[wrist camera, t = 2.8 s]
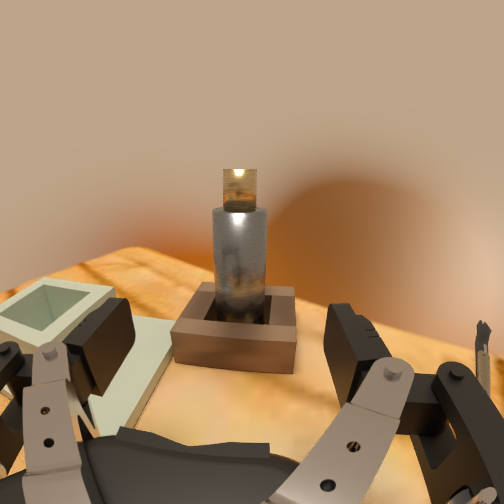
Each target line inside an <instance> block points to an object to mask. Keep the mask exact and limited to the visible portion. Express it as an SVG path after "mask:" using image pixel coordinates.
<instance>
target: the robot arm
mask: <svg viewBox="0 0 504 504" xmlns="http://www.w3.org/2000/svg"><path fill="white" fill-rule="evenodd" d="M135 338H136V333H135V328H134V323H133V319H132V314H131V309H130V304H129V301H128V300H127V299H126V298H113V297H110V298H108V299H107V300H106V301H105V302H104V303H103V304H102V305H101V306H100V307H99V308H97V309H96V310H94V311H92V312H90V313H89V314H88V315H87V316H86V317H85V318H84V319H83V321H81V322H80V323H79V324H78V326H76V327H75V328H74V329H73V330H72V331H71V332H70V333H69V334H68V336H67V337H66V338H65V339H64V340H63V341H62V342H59V341H51V342H47V343H44V344H42V345H41V346H39V347H38V348H37V349H36V350H35V352H34V354H22V352H21V349H20V347H19V345H18V343H16V342H14V341H7V342H4V343H1V344H0V392H1V390H2V389H3V388H4V386H5V385H7V387H8V389H9V390H10V392H11V394H12V395H13V397H14V398H13V399H12V400H11V402H10V403H9V404H8V406H7V407H6V409H5V410H4V412H3V413H2V414H1V416H0V504H359V503H360V502H361V500H362V498H363V497H364V495H365V493H366V492H367V490H368V488H369V486H370V485H371V483H372V481H373V479H374V477H375V475H376V473H377V472H378V470H379V468H380V466H381V464H382V462H383V460H384V458H385V455H386V453H387V451H388V449H389V447H390V445H391V442H392V440H393V438H394V436H395V434H402V435H410V438H411V441H412V443H413V446H414V449H415V452H416V455H417V458H418V461H419V464H420V467H421V470H422V473H423V476H424V480H425V483H426V486H427V489H428V493H429V496H430V500H431V503H432V504H504V419H503V417H502V416H501V414H500V413H499V411H498V409H497V408H496V406H495V405H494V403H493V402H492V400H491V399H490V397H489V396H488V394H487V393H486V391H485V390H484V388H483V387H482V385H481V384H480V383H479V381H478V380H477V378H476V377H475V375H474V374H473V373H472V371H471V370H470V369H469V368H468V367H466V366H465V365H463V364H461V363H458V362H445V363H443V364H441V365H440V366H439V368H438V370H437V372H436V374H419V373H414V370H413V368H412V367H411V365H410V364H408V363H407V362H406V361H404V360H402V359H399V358H394V357H392V355H391V354H390V352H389V350H388V349H387V347H386V345H385V344H384V342H383V341H382V339H381V337H379V334H378V333H377V331H375V328H374V326H373V325H372V323H371V321H369V320H368V319H366V318H365V317H364V316H362V315H356V314H355V313H354V311H353V309H352V308H351V306H350V304H348V303H340V304H330V305H329V307H328V312H327V320H326V327H325V333H324V353H325V356H326V359H327V363H328V366H329V369H330V373H331V376H332V379H333V383H334V386H335V389H336V393H337V396H338V400H339V403H340V407H341V410H340V412H339V413H338V414H337V416H336V417H335V419H334V420H333V422H332V423H331V424H330V426H329V427H328V429H327V430H326V431H325V433H324V434H323V435H322V437H321V438H320V439H319V441H318V442H317V443H316V445H315V446H314V447H313V449H312V450H311V451H310V452H309V454H308V455H307V456H306V457H305V459H304V460H303V461H302V462H301V463H299V462H297V461H295V460H292V459H290V458H287V457H284V456H280V455H277V454H272V453H270V445H269V443H239V442H227V443H219V444H211V445H201V446H186V445H182V444H180V443H177V442H174V441H172V440H169V439H167V438H164V437H162V436H159V435H157V434H154V433H151V432H146V431H141V430H136V429H131V428H127V427H123V426H120V427H119V430H118V432H117V434H116V435H108V436H100V433H99V430H98V427H97V423H96V420H95V417H94V413H93V409H92V406H91V402H90V400H89V398H88V397H89V396H90V394H93V395H97V396H101V397H103V395H104V393H105V392H106V390H107V388H108V387H109V385H110V383H111V381H112V380H113V378H114V376H115V375H116V373H117V371H118V370H119V368H120V367H121V365H122V363H123V362H124V360H125V358H126V357H127V355H128V353H129V352H130V350H131V349H132V347H133V345H134V343H135ZM449 423H450V424H451V426H452V428H453V430H454V432H455V434H456V439H455V437H454V435H453V432H452V430H451V428H450V426H449ZM23 445H24V450H25V460H26V469H24V470H22V471H20V472H17V473H15V474H12V475H10V476H7V475H8V473H9V471H10V469H11V467H12V465H13V463H14V461H15V459H16V457H17V455H18V454H19V452H20V450H21V448H22V446H23Z"/></svg>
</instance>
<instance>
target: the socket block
mask: <svg viewBox="0 0 504 504" xmlns="http://www.w3.org/2000/svg"><path fill="white" fill-rule="evenodd" d="M264 323H269V325H259V324H244V323H231V322H219V321H217V315H216V297H215V283H211V282H202V283H201V285H200V286H199V288H198V289H197V291H196V292H195V294H194V295H193V297H192V298H191V300H190V301H189V303H188V304H187V306H186V307H185V309H184V310H183V312H182V313H181V315H180V316H179V318H178V319H177V321H176V322H175V324H174V325H173V327H172V329H171V330H170V335H171V341H172V347H173V353H174V358H175V362H176V363H183V364H189V365H197V366H204V367H212V368H221V369H230V370H240V371H252V372H267V373H287V374H293V368H294V360H295V351H296V343H297V339H296V316H295V296H294V287H282V286H265V313H264Z"/></svg>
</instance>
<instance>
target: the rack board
mask: <svg viewBox="0 0 504 504" xmlns="http://www.w3.org/2000/svg"><path fill="white" fill-rule="evenodd" d="M110 297H113V298H116V294H115V288H114V287H111V286H103V285H96V284H88V283H81V282H74V281H67V280H60V279H54V278H47V277H43V278H42V279H40V280H38V281H37V282H35V283H33V284H32V285H30V286H29V287H27V288H25V289H24V290H22V291H20V292H19V293H17V294H16V295H14V296H13V297H11V298H10V299H8V300H6V301H5V302H3V303H2V304H0V344H1V343H4V342H7V341H14V342H16V343H18V345H19V347H20V349H21V352H22V354H34V352H35V350H36V349H37V348H38V347H39V346H41V345H42V344H44V343H47V342H51V341H59V342H62V341H63V340H64V339H65V338H66V337H67V336H68V334H69V333H70V332H71V331H72V330H73V329H74V328H75V327H76V326H78V324H79V323H80V322H81V321H83V319H84V318H85V317H86V316H87V315H88V314H89V313H90V312H92V311H94V310H96V309H97V308H99V307H100V306H101V305H102V304H103V303H104V302H105V301H106V300H107V299H108V298H110ZM132 319H133V323H134V328H135V333H136V338H135V343H134V345H133V347H132V349H131V350H130V352H129V353H128V355H127V357H126V358H125V360H124V362H123V363H122V365H121V367H120V368H119V370H118V371H117V373H116V375H115V376H114V378H113V380H112V381H111V383H110V385H109V387H108V388H107V390H106V392H105V393H104V395H103V397H101V396H97V395H93V394H90V396H89V397H88V398H89V400H90V402H91V406H92V409H93V413H94V417H95V420H96V423H97V427H98V430H99V433H100V436H108V435H116V434H117V432H118V430H119V427H120V426H123V427H127V428H131V429H133V427H134V425H135V423H136V422H137V420H138V418H139V416H140V414H141V412H142V410H143V409H144V407H145V405H146V403H147V401H148V399H149V398H150V396H151V394H152V392H153V390H154V388H155V387H156V385H157V383H158V381H159V379H160V377H161V376H162V374H163V372H164V370H165V368H166V367H167V365H168V363H169V361H170V359H171V358H172V356H173V354H174V353H173V347H172V341H171V335H170V330H171V329H172V327H173V325H174V324H175V322H176V321H173V320H165V319H158V318H150V317H143V316H136V315H132ZM1 393H2V394H3V395H5V396H6V397H8V398H9V399H10V400H12V399H13V398H14V397H13V395H12V394H11V392H10V390H9V389H8V387H7V385H5V386H4V388H3V389H2V390H1Z"/></svg>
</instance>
